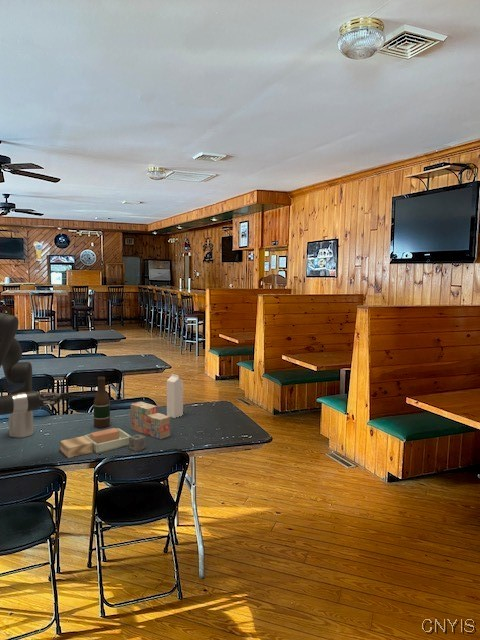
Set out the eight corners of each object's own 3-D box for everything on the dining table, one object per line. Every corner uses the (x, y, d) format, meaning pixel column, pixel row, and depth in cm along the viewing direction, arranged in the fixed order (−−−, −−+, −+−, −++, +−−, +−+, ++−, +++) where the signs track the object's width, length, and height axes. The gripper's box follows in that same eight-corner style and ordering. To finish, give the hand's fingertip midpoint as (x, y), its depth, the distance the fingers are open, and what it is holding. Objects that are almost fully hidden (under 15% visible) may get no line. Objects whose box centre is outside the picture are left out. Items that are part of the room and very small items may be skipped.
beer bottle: (105, 429, 218) (104, 379, 215) (90, 427, 220) (89, 378, 217) (113, 423, 226) (112, 375, 223) (98, 422, 227) (97, 374, 225)
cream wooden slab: (68, 458, 184) (68, 448, 184) (60, 450, 192) (60, 440, 192) (92, 452, 190) (92, 442, 190) (84, 444, 198) (83, 435, 198)
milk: (174, 418, 235) (174, 376, 233) (166, 415, 240) (166, 374, 237) (183, 415, 240) (183, 374, 237) (175, 413, 244) (175, 372, 241)
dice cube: (138, 445, 199) (138, 434, 199) (145, 448, 196) (145, 436, 195) (128, 448, 195) (128, 437, 195) (136, 451, 192) (136, 440, 192)
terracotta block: (94, 436, 193) (119, 431, 200) (90, 433, 197) (114, 427, 204) (94, 447, 193) (119, 442, 200) (90, 444, 197) (114, 438, 204)
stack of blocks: (170, 436, 210) (170, 410, 209) (159, 440, 206) (159, 413, 204) (141, 425, 224) (141, 400, 223) (130, 428, 219) (130, 403, 218)
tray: (96, 453, 189) (96, 445, 189) (83, 443, 200) (83, 435, 200) (132, 444, 199) (132, 436, 199) (118, 435, 210) (118, 427, 210)
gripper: (29, 396, 171) (75, 390, 183) (18, 388, 181) (62, 382, 192) (29, 416, 172) (75, 408, 183) (18, 407, 182) (63, 400, 193)
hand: (68, 395), depth 188 cm, fingers closed
